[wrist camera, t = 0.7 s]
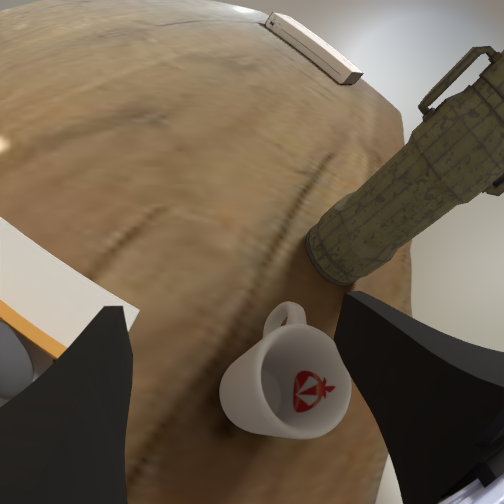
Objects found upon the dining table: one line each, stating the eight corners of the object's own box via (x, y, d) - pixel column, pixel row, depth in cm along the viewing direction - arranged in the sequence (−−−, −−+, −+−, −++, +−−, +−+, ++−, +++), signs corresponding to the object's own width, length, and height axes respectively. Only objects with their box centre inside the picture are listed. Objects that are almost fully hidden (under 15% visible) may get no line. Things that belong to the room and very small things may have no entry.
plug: (37, 440, 15) (15, 446, 10) (-36, 385, 14) (-77, 366, 8) (73, 363, 20) (68, 339, 14) (3, 314, 18) (-22, 271, 13)
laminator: (352, 86, 91) (363, 73, 86) (339, 86, 82) (352, 72, 78) (280, 28, 93) (289, 16, 89) (261, 25, 85) (270, 11, 80)
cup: (216, 312, 28) (262, 271, 22) (292, 333, 30) (349, 302, 25) (200, 434, 21) (248, 435, 16) (287, 443, 24) (353, 439, 18)
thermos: (358, 308, 37) (603, 126, 11) (285, 245, 36) (525, 7, 10) (371, 262, 43) (566, 102, 17) (309, 206, 42) (498, 13, 16)
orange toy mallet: (97, 394, 17) (98, 390, 15) (-45, 289, 15) (-58, 271, 13) (108, 371, 18) (110, 364, 16) (-32, 270, 16) (-43, 251, 14)
